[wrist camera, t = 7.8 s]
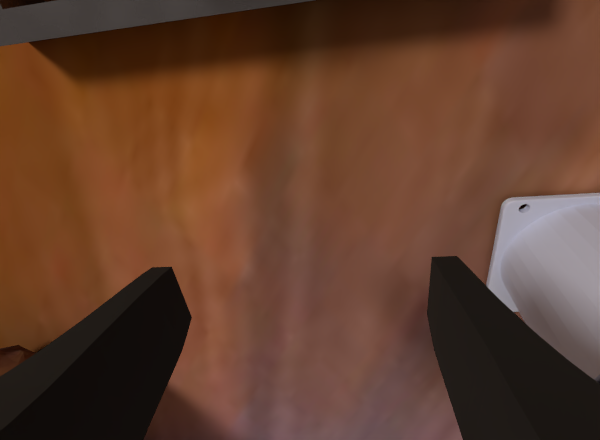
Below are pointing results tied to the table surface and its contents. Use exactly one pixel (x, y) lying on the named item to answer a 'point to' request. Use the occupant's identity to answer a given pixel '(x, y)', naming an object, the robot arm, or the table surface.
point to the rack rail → (105, 15)
